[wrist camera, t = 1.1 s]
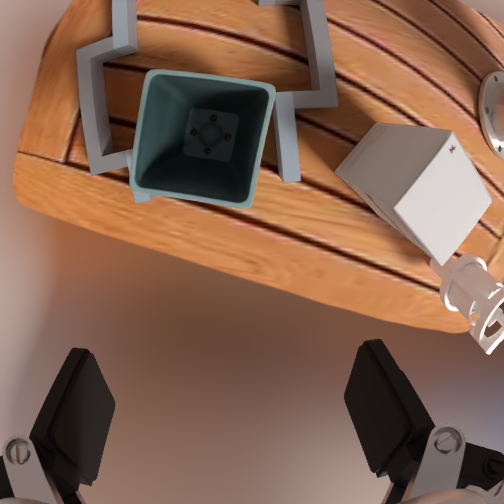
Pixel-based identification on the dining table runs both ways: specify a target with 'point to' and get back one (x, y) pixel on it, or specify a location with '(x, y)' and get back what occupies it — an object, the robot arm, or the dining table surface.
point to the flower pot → (200, 137)
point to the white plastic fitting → (472, 295)
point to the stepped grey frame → (283, 106)
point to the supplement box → (418, 184)
